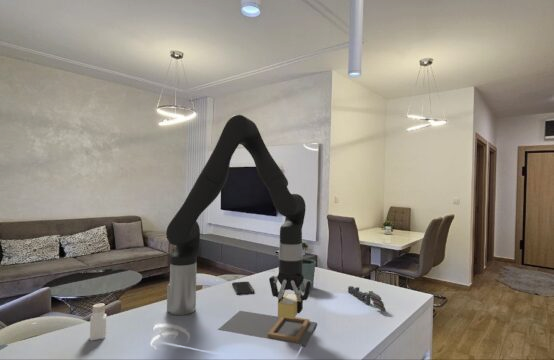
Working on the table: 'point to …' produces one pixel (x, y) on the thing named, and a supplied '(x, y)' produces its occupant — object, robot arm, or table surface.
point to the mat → (271, 327)
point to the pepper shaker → (98, 322)
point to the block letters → (367, 297)
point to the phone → (243, 288)
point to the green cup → (308, 272)
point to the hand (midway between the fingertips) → (290, 311)
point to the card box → (288, 306)
